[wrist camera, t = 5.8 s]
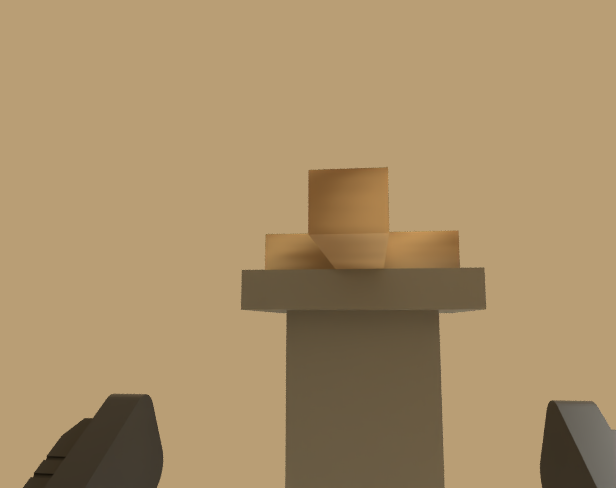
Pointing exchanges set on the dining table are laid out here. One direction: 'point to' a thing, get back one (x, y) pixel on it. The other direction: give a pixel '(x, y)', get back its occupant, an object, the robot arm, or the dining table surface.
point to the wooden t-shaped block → (356, 229)
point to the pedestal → (364, 370)
